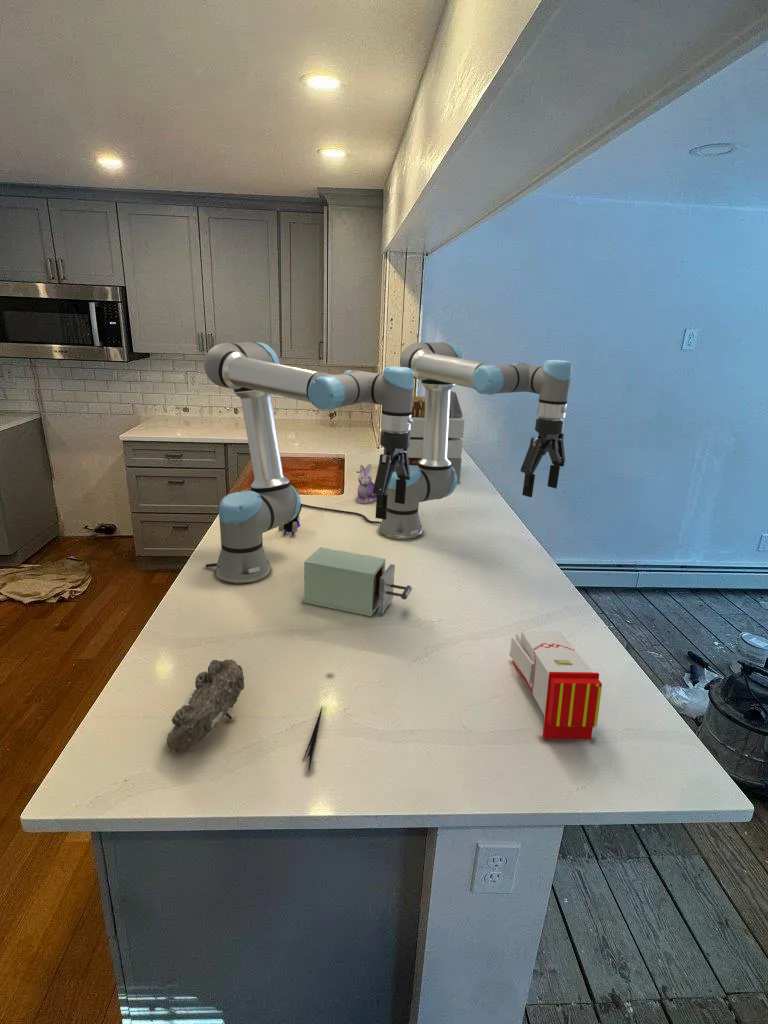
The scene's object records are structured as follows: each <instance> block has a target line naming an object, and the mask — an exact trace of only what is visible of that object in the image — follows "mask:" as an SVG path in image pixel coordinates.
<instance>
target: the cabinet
mask: <svg viewBox="0 0 768 1024" xmlns="http://www.w3.org/2000/svg"><path fill="white" fill-rule="evenodd" d="M386 559H387V558H383V557H379V556H372V555H366V554H361V553H355V552H350V551H344V550H339V549H333V548H327V547H321V546H320V547H319V548H317V549H316V551H314V552H313V553H312V554H311V555H310V556H309V557H307V559H305V560H304V561H303V577H304V578H303V587H304V588H303V591H304V592H303V594H304V595H303V597H304V599H303V600H304V601H303V603H304V604H309V605H314V606H319V607H323V608H328V609H333V610H337V611H343V612H348V613H352V614H356V615H357V614H358V615H362V616H368V617H372V616H373V615H374V614H375V612H376V610H377V609H378V608H379V602H378V603H377V604H376V606H375V607H374V609H373V595H374V576H375V575H376V574H377V572H378V571H379V570H380V568H381V567H382V566H384V568H383V573H384V572H385V571H386V561H387V560H386Z"/></svg>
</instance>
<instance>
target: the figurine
mask: <svg viewBox="0 0 768 1024" xmlns="http://www.w3.org/2000/svg"><path fill="white" fill-rule="evenodd" d="M371 469H372V464H371V463H369V464H368V465H366V467H364V465H363V464H360V465H359V475H358V477H357V480H358V483H359V484H358V487H357V497H356V500H357V502H358V503H360V504H368V503H374V502H376V497H377V494H373V489H374V484H375V482H373V481H372V480H373V478H372V476H371V473H370V472H371Z"/></svg>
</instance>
